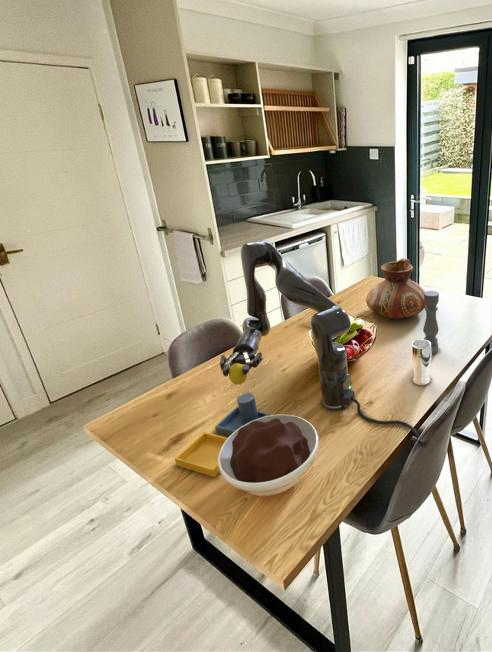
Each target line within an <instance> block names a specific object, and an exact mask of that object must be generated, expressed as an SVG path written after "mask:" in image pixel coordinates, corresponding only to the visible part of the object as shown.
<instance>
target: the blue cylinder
mask: <svg viewBox="0 0 492 652" xmlns="http://www.w3.org/2000/svg"><path fill="white" fill-rule="evenodd" d="M236 401H237V406H238V407H239V412H240V416H241V421H242V425H245V424H247V423H249V422H251V421H253V420H256V419H259V418H258V413H257V411H258V409H257V403H256V398H255V395H254V393H251V392H246V393H242V394H240V395H239V396H237V399H236Z"/></svg>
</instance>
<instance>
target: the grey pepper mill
mask: <svg viewBox="0 0 492 652" xmlns="http://www.w3.org/2000/svg"><path fill="white" fill-rule="evenodd" d="M439 300H440V293H439V292H438V291H436V290H426V291H425V292H424V302H425V304H426V306H425V308H424V311H425V314H426V315H425V321H424V325H423V328H422V331H423V333H424V338H423V339H424V340H428V341H429V342H430V343H431V355H435V354H437V353H438V352H439V339H438V337H437V335H438V333H439V331H440V329H439V324H438V320H437V311H438V310H439V307H438V304H439Z"/></svg>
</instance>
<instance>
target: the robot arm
mask: <svg viewBox="0 0 492 652" xmlns="http://www.w3.org/2000/svg"><path fill="white" fill-rule="evenodd" d="M240 260H241V267H242V273H243V279H244V283H245V289H246V312H247V314H248V316H250V317H247V318H245V319H244V320H243V321H242V325H241V326H242V334H241V336H240V337H239V338H238V340H237V342H236V344H235V345H234V348H233V350H232V353H230V354H229V355H228V356H226V355H225V354H223V355H221V356H220V360H219V367H220V371H222V375H223V376H224V378H225V377H229V369H230V367H231V366H232V365H234V364H241V365H243V366H244V368H243V375H246V374H247V375H248V374H249V373H250V370H251V369H252V368H254V369H257V368H258V366H259V365H260V363H261V362H262V361H263V360H264V358H263V353H262V351H261V352H260V351H259V352H258V350H259V347H260V343H261V340H262V337H267V336H268V335H269V334H270V332H271V322H270V319H269V316H268V312H267V293H266V292H265V291H266V290H265V289H264V288H263V287H262V285H261V284H260V282H259V281H258V278H257V277H256V269H258V268H262V267H270V268H272V269H273V271H274V273H275V276H274V277H275V278H274V282H275V287H276V289H277V290H278V292H279V293H280V294H281V295H282V296H283V297H284V298H285V299H286V300H287V301H289V302H290V303H292V304H294V305H297V306H299V307H302V308H306V309H309V310H313V311H315V312H316V313H314V314H312V316H311V318H310V329H311V334H312V341H313V346H314V350H315V353H316V357H317V364H318V365H317V366H318V375H319V383H320V391H321V403H322V405H323V407H325V408H326V409H328V410H340V409H346V408H347V407H348V406H349V407H350V406H351V404H352V403H354V404H356V411H357V413H358V415H360V417H361V418H362V419H364V420H365V421H367V422H369V423H370V422H371V423H373V424H377V425H401V426H404V427H406V428H408V429H409V430H410V431H411V432H412V433H413V434H414V436H415V438H416V439H417V440H418V438H419V437H420V438H421V436H420V435H419V433H418V431H417V430H416V428H414V427H413V426H412V425H411V424H409V423H407V422H404V421H401V420H378V419H374V418H371V417H368V416H366V415H365V414H364V413H363V412H362V410H361V404H360V402H359V401H358V400H357V399H356V394H355V390H353V387H352V386H353V385H352V376H351V374H350V373H349V369H348V355H347V348H346V346H345V345H344V344H342V343H340V342H335V341H333V339H336V338H338V337H340V336H342V335H344V334H346V333H348V332H349V331H350V330H351V325H352V324H351V319H350V316H349V315H348V313H347V312H346V310H345V309H344V308H343V307H341V306H340V305H339V304H338V303H336V302H335V301H333V300H332V299H330V298H329V297H327V296H326V295H325V294H324V293H323V292H322V291H320V290H319V289H318V288H316V286H314V285H313V284H312V283H311V282H310V281H309V280H308V279H307V278H306V277H305V276H304V275H303V274H302V273H301V272H299V271H298V270H297V269H296V268H294V267H293V266H292V265H291V263H290V262H289V261H288V260H287V259H285V257H284V256H283V255H282V254H281V253H280V251H279V250H278V248H276V246H274V244H273V243H271V242H270V241H268V240H265V239H264V240H263V239H262V240H257V241H256V240H255V241H250V242H246V243H243V244H242V246H241V248H240ZM257 352H258V353H257ZM419 444H420V445H424V441H423V440H422V442H421V443H419Z"/></svg>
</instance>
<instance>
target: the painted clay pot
mask: <svg viewBox="0 0 492 652" xmlns="http://www.w3.org/2000/svg"><path fill="white" fill-rule="evenodd" d="M380 271H381V273H382V274H383V276H384V280H381V281H380V282H378V283H377V284H375V285H374V286H372V288H370V289H369V291H368V293H367V294H366V295H367V296H366V299H365V302H366V305H367V306H366V307H368V309H369V310H370V311H372V312H373V313H375V314H376V315H379V316H381V317H385V318H388V319H395V320H400V319H401V320H402V319H408V318H411V317H413V316H416V315H418V314H420V313H421V312H423V310H425V306H426V304H425V302H424V292H426V291H425V290H424V289H423V287H422V286H421V285H420V284H419V283H417V282H415V281H414V280H412V279H411V278H410V276H411V274H412V273H413V271H414V267H413V265H412V264H411V261H410V259H409V258H403V257H401V258H400V259H398V260H395V261H388V262H385V263H383V264H381V266H380Z"/></svg>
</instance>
